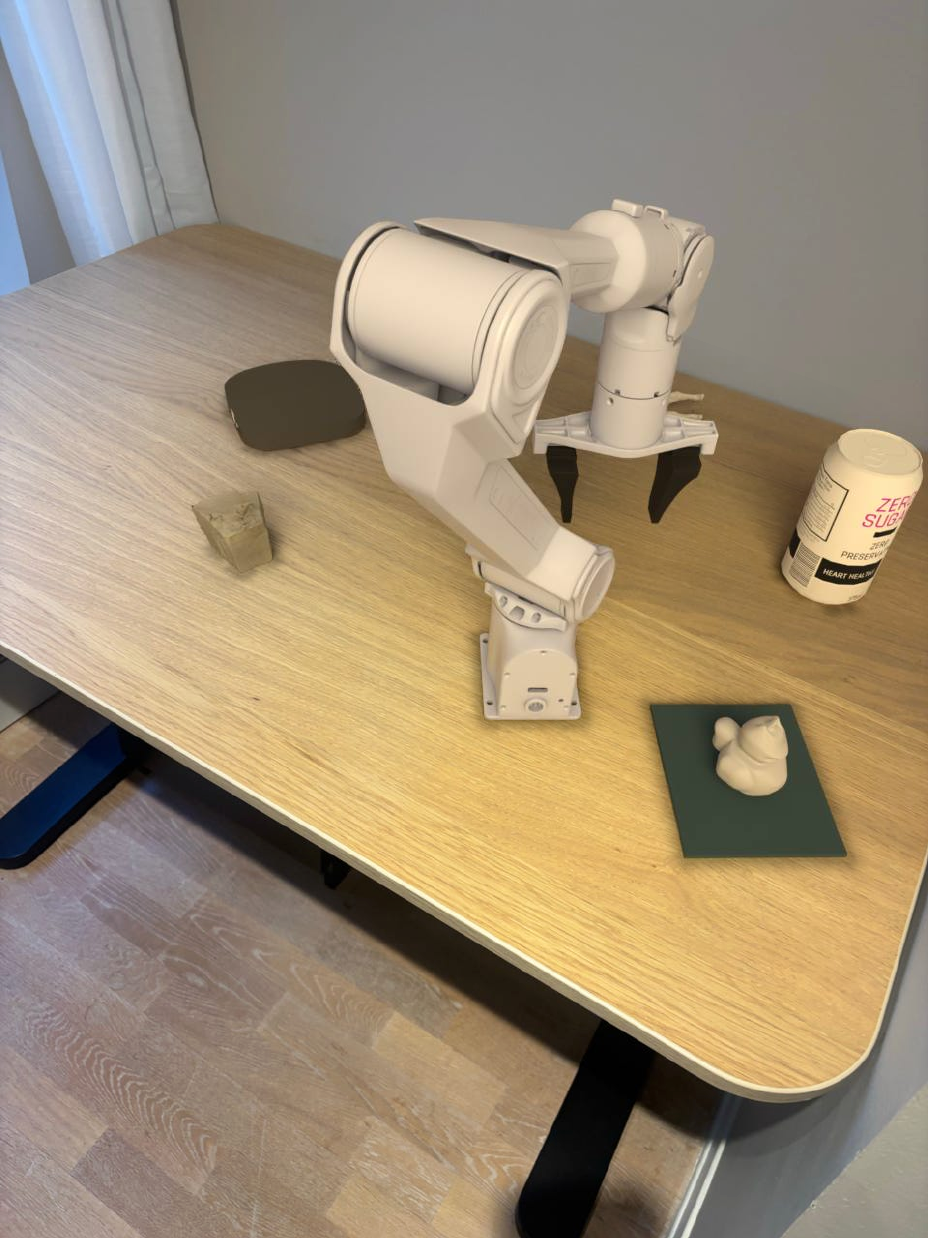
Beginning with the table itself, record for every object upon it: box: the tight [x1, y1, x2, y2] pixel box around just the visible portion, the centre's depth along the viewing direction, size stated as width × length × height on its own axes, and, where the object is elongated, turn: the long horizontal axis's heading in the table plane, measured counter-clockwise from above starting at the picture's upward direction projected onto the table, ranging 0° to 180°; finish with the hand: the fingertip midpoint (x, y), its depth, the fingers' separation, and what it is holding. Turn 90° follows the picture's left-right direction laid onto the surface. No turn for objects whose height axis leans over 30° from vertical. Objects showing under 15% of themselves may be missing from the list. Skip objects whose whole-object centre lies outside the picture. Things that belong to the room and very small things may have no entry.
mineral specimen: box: [191, 489, 273, 574], centre depth 81 cm, size 7×9×8 cm
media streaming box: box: [223, 359, 366, 451], centre depth 101 cm, size 15×15×3 cm
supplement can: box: [780, 428, 924, 605], centre depth 80 cm, size 8×8×15 cm
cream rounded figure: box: [712, 716, 788, 796], centre depth 65 cm, size 5×7×8 cm
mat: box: [649, 704, 848, 859], centre depth 68 cm, size 14×12×1 cm
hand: (609, 515), depth 76 cm, fingers open, 7 cm apart
